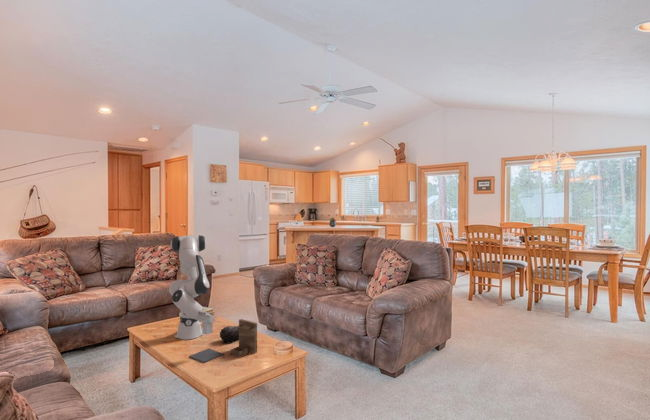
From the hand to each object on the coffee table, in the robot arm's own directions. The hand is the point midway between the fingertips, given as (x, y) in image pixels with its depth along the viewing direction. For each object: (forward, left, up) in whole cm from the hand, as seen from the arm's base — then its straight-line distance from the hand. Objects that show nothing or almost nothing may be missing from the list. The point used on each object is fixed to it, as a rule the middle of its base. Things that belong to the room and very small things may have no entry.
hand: (208, 322), depth 219 cm
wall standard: (+1, +20, -20) cm, 28 cm away
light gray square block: (0, 0, -6) cm, 6 cm away
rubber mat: (+1, -1, -20) cm, 20 cm away
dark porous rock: (-23, +15, -20) cm, 34 cm away
